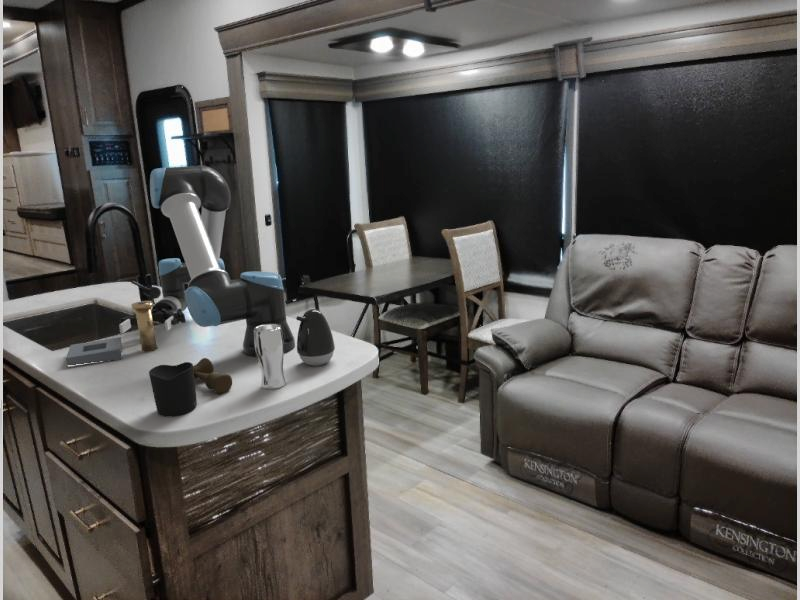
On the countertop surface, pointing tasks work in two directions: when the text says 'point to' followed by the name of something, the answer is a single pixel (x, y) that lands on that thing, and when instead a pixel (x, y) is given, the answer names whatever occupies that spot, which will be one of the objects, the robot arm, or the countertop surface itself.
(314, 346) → the pump dispenser
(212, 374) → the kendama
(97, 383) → the countertop surface
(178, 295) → the robot arm
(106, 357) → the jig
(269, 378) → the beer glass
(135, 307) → the bushing
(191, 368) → the pen holder
